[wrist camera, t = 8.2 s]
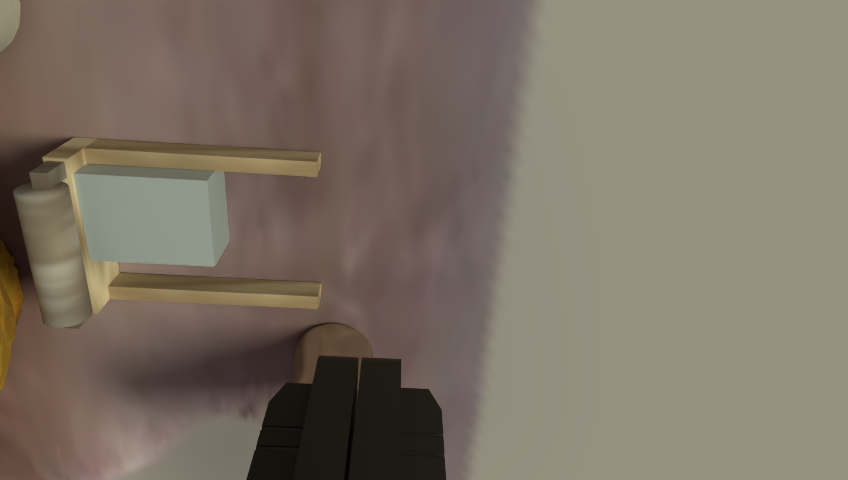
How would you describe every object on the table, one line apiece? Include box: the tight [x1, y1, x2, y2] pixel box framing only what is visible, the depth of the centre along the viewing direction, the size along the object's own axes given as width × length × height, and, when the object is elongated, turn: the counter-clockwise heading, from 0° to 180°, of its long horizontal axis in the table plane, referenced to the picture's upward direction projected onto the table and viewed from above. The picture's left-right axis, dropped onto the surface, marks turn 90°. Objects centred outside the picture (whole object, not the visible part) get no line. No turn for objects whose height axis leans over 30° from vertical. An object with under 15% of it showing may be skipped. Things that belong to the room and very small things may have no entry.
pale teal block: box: [74, 164, 229, 267], centre depth 42 cm, size 6×8×4 cm
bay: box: [13, 137, 321, 329], centre depth 41 cm, size 11×17×7 cm, turn 86°
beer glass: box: [291, 324, 373, 397], centre depth 43 cm, size 7×7×15 cm
